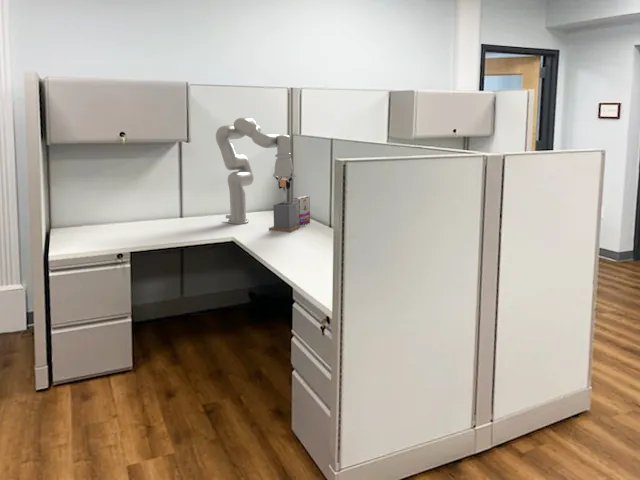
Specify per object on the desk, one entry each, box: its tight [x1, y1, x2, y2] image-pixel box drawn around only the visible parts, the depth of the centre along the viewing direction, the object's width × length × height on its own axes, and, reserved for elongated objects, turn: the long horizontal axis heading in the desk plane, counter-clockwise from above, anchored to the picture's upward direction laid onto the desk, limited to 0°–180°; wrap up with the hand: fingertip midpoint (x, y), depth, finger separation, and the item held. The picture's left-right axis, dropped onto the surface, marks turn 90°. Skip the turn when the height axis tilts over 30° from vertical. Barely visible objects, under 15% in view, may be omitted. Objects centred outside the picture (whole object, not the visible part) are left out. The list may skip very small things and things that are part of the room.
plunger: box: [280, 178, 287, 205], centre depth 349 cm, size 7×7×19 cm
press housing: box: [268, 201, 302, 233], centre depth 352 cm, size 14×14×15 cm
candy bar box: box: [292, 195, 311, 226], centre depth 369 cm, size 11×5×16 cm, turn 146°
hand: (284, 188), depth 348 cm, fingers closed on plunger, 4 cm apart
